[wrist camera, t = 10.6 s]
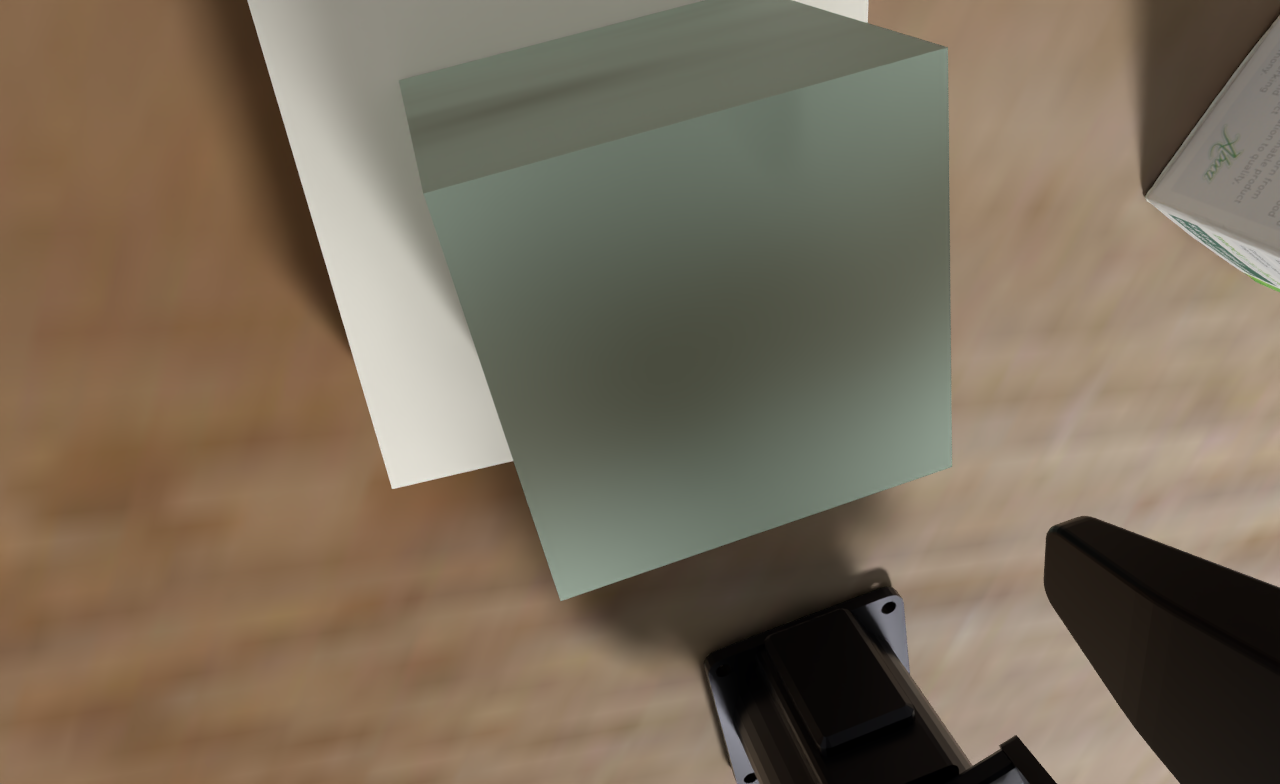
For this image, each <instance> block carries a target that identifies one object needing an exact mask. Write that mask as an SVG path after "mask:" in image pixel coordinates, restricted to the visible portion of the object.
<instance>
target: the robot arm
mask: <svg viewBox="0 0 1280 784" xmlns="http://www.w3.org/2000/svg"><path fill="white" fill-rule="evenodd" d="M1044 587H1045V591H1046V594H1047V597H1048V599H1049V601H1050V603H1051V605H1052V606H1053V608H1054V609H1055V611H1056V612H1057V614H1058V615H1059V617H1060V618H1061V620H1062V621H1063V623H1064V624H1065V626H1066V627H1067V629H1068V630H1069V632H1070V633H1071V635H1072V636H1073V638H1074V639H1075V641H1076V642H1077V644H1078V645H1079V647H1080V648H1081V650H1082V651H1083V653H1084V654H1085V656H1086V657H1087V659H1088V660H1089V661H1090V663H1091V664H1092V666H1093V667H1094V669H1095V670H1096V672H1097V673H1098V675H1099V676H1100V678H1101V679H1102V681H1103V682H1104V684H1105V685H1106V687H1107V688H1108V690H1109V691H1110V693H1111V694H1112V696H1113V697H1114V699H1115V700H1116V702H1117V703H1118V705H1119V706H1120V708H1121V709H1122V710H1123V712H1124V713H1125V715H1126V716H1127V717H1128V719H1129V720H1130V722H1131V723H1132V725H1133V726H1134V727H1135V729H1136V730H1137V731H1138V732H1139V734H1140V735H1141V736H1142V737H1143V739H1144V740H1145V741H1146V743H1147V744H1148V745H1149V746H1150V748H1151V749H1152V750H1153V751H1154V752H1155V754H1156V755H1157V756H1158V757H1159V758H1160V760H1161V761H1162V762H1163V763H1164V765H1165V766H1166V767H1167V768H1168V769H1169V771H1170V772H1171V773H1172V774H1173V775H1174V777H1175V778H1176V779H1177V780H1178V781H1179V783H1180V784H1280V587H1277V586H1274V585H1272V584H1269V583H1266V582H1264V581H1261V580H1258V579H1256V578H1253V577H1250V576H1248V575H1245V574H1242V573H1240V572H1237V571H1234V570H1232V569H1229V568H1227V567H1224V566H1221V565H1219V564H1216V563H1213V562H1211V561H1208V560H1205V559H1203V558H1200V557H1197V556H1195V555H1192V554H1189V553H1187V552H1184V551H1181V550H1179V549H1176V548H1173V547H1171V546H1168V545H1165V544H1163V543H1160V542H1158V541H1155V540H1152V539H1150V538H1147V537H1144V536H1142V535H1139V534H1136V533H1134V532H1131V531H1128V530H1126V529H1123V528H1120V527H1118V526H1115V525H1112V524H1110V523H1107V522H1104V521H1102V520H1099V519H1096V518H1093V517H1089V516H1080V517H1076V518H1074V519H1071V520H1068V521H1065V522H1062V523H1060V524H1057V525H1054V526H1053V527H1051V528H1050V529H1049V531H1048V533H1047V536H1046V548H1045V566H1044ZM722 665H723V666H722ZM720 666H721V667H720ZM704 669H705V673H706V676H707V680H708V684H709V687H710V691H711V695H712V698H713V702H714V706H715V709H716V713H717V717H718V720H719V724H720V728H721V731H722V735H723V739H724V742H725V746H726V750H727V753H728V757H729V761H730V764H731V768H732V772H733V775H734V777H735V780H736V782H737V784H1057V783H1056V782H1055V781H1054V780H1053V779H1052V777H1051V776H1050V775H1049V774H1048V773H1047V771H1046V770H1045V769H1044V768H1043V767H1042V765H1041V764H1040V763H1039V762H1038V761H1037V759H1036V758H1035V757H1034V756H1033V755H1032V753H1031V752H1030V751H1029V750H1028V749H1027V747H1026V746H1025V745H1024V744H1023V743H1022V741H1021V740H1020V739H1019V738H1018V737H1017V735H1015V736H1014V737H1012V738H1010V739H1009V740H1007V741H1005V742H1004V743H1002V744H1001V745H999V746H1000V748H1001V749H1000V750H998V751H996V752H995V753H993V754H991V755H990V756H988V757H987V758H985V759H983V760H982V761H980V762H978V763H977V764H975V765H974V766H973V765H972V764H971V763H970V761H969V760H968V758H967V757H966V755H965V754H964V752H963V751H962V750H961V748H960V747H959V745H958V744H957V742H956V741H955V739H954V738H953V736H952V735H951V734H950V732H949V731H948V729H947V728H946V726H945V725H944V723H943V722H942V721H941V719H940V718H939V716H938V715H937V713H936V712H935V710H934V709H933V708H932V706H931V705H930V703H929V702H928V700H927V699H926V697H925V696H924V694H923V693H922V692H921V690H920V689H919V687H918V686H917V684H916V683H915V681H914V680H913V679H912V677H911V676H910V670H909V658H908V647H907V636H906V625H905V614H904V602H903V600H902V598H901V596H900V595H899V594H898V592H897V591H896V590H895V589H894V588H892V587H884V588H880V589H877V590H875V591H872V592H870V593H867V594H864V595H862V596H859V597H856V598H854V599H851V600H848V601H846V602H843V603H841V604H838V605H835V606H833V607H830V608H827V609H825V610H822V611H819V612H817V613H814V614H811V615H809V616H806V617H804V618H801V619H798V620H796V621H793V622H790V623H788V624H785V625H782V626H780V627H777V628H774V629H772V630H769V631H767V632H764V633H761V634H759V635H756V636H753V637H751V638H748V639H745V640H743V641H740V642H737V643H735V644H732V645H730V646H727V647H724V648H722V649H719V650H716V651H715V652H713V653H711V654H710V655H709V656H708V657H707V658H706V660H705V662H704Z"/></svg>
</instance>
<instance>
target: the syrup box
mask: <svg viewBox="0 0 1280 784" xmlns="http://www.w3.org/2000/svg"><path fill="white" fill-rule="evenodd" d="M1145 198H1146V200H1147V201H1148V202H1149V203H1151V204H1152V205H1154V206H1155V207H1156V208H1157V209H1158V210H1159V211H1160V212H1162V213H1163V214H1164V215H1165V216H1166V217H1168V218H1169V219H1170V220H1172V221H1173V222H1174V223H1175V224H1177V225H1178V226H1179V227H1180V228H1182V229H1183V230H1184V231H1185V232H1187V233H1188V234H1189V235H1190V236H1192V237H1193V238H1194V239H1196V240H1197V241H1199V242H1200V243H1202V244H1203V245H1204V246H1206V247H1207V248H1209V249H1210V250H1211V251H1213V252H1214V253H1215V254H1217V255H1218V256H1220V257H1221V258H1223V259H1224V260H1226V261H1227V262H1228V263H1230V264H1231V265H1233V266H1234V267H1236V268H1237V269H1238V270H1240V271H1242V272H1243V273H1245V274H1246V275H1248V276H1249V277H1251V278H1252V279H1253V280H1254V281H1256V282H1257V283H1260V284H1262V285H1264V286H1267V287H1269V288H1271V289H1274V290H1276V291H1278V292H1280V15H1279V16H1278V18H1277V19H1276V20H1275V21H1274V23H1273V24H1272V25H1271V27H1270V28H1269V29H1268V31H1267V32H1266V33H1265V34H1264V35H1263V36H1262V38H1261V39H1260V40H1259V42H1258V43H1257V44H1256V45H1255V47H1254V48H1253V49H1252V50H1251V52H1250V53H1249V54H1248V55H1247V57H1246V58H1245V59H1244V61H1243V62H1242V63H1241V65H1240V66H1239V67H1238V69H1237V70H1236V71H1235V73H1234V74H1233V75H1232V77H1231V78H1230V79H1229V81H1228V82H1227V84H1226V85H1225V86H1224V88H1223V89H1222V90H1221V92H1220V93H1219V94H1218V96H1217V97H1216V98H1215V99H1214V101H1213V102H1212V104H1211V105H1210V107H1209V108H1208V109H1207V111H1206V112H1205V114H1204V115H1203V116H1202V118H1201V119H1200V120H1199V122H1198V123H1197V125H1196V126H1195V127H1194V129H1193V130H1192V131H1191V133H1190V134H1189V136H1188V137H1187V138H1186V140H1185V141H1184V143H1183V144H1182V145H1181V147H1180V148H1179V150H1178V151H1177V152H1176V154H1175V155H1174V157H1173V158H1172V159H1171V161H1170V162H1169V163H1168V165H1167V166H1166V167H1165V169H1164V170H1163V172H1162V173H1161V175H1160V176H1159V177H1158V179H1157V180H1156V182H1155V183H1154V185H1153V187H1152V188H1151V189H1150V190H1149V191H1148V193H1147V194H1146V197H1145Z"/></svg>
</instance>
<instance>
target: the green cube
mask: <svg viewBox="0 0 1280 784" xmlns="http://www.w3.org/2000/svg"><path fill="white" fill-rule="evenodd" d="M399 84H400V89H401V93H402V98H403V102H404V107H405V112H406V116H407V121H408V125H409V130H410V135H411V139H412V144H413V148H414V153H415V157H416V162H417V167H418V171H419V176H420V180H421V185H422V190H423V194H424V197H425V200H426V203H427V206H428V209H429V212H430V215H431V218H432V221H433V224H434V227H435V230H436V233H437V236H438V239H439V241H440V244H441V247H442V250H443V253H444V256H445V259H446V262H447V265H448V268H449V271H450V274H451V277H452V280H453V283H454V286H455V289H456V292H457V295H458V298H459V301H460V304H461V307H462V310H463V313H464V316H465V319H466V322H467V325H468V328H469V331H470V334H471V337H472V339H473V342H474V345H475V348H476V351H477V354H478V357H479V360H480V363H481V366H482V369H483V372H484V375H485V378H486V381H487V384H488V387H489V390H490V393H491V396H492V399H493V402H494V405H495V408H496V411H497V414H498V417H499V420H500V423H501V426H502V429H503V432H504V434H505V437H506V440H507V443H508V446H509V449H510V452H511V455H512V458H513V461H514V464H515V467H516V470H517V473H518V476H519V479H520V482H521V485H522V488H523V491H524V494H525V497H526V500H527V503H528V506H529V509H530V512H531V515H532V518H533V521H534V524H535V527H536V530H537V532H538V535H539V538H540V541H541V544H542V547H543V550H544V553H545V556H546V559H547V562H548V565H549V568H550V571H551V574H552V577H553V580H554V583H555V586H556V589H557V592H558V595H559V598H560V601H563V600H566V599H569V598H571V597H574V596H577V595H580V594H583V593H586V592H589V591H592V590H595V589H598V588H601V587H603V586H606V585H609V584H612V583H615V582H618V581H621V580H624V579H627V578H630V577H633V576H635V575H638V574H641V573H644V572H647V571H650V570H653V569H656V568H659V567H662V566H665V565H668V564H670V563H673V562H676V561H679V560H682V559H685V558H688V557H691V556H694V555H697V554H700V553H702V552H705V551H708V550H711V549H714V548H717V547H720V546H723V545H726V544H729V543H732V542H735V541H737V540H740V539H743V538H746V537H749V536H752V535H755V534H758V533H761V532H764V531H767V530H769V529H772V528H775V527H778V526H781V525H784V524H787V523H790V522H793V521H796V520H799V519H802V518H804V517H807V516H810V515H813V514H816V513H819V512H822V511H825V510H828V509H831V508H834V507H836V506H839V505H842V504H845V503H848V502H851V501H854V500H857V499H860V498H863V497H866V496H869V495H871V494H874V493H877V492H880V491H883V490H886V489H889V488H892V487H895V486H898V485H901V484H903V483H906V482H909V481H912V480H915V479H918V478H921V477H924V476H927V475H930V474H933V473H936V472H938V471H941V470H944V469H947V468H950V467H952V422H951V320H950V219H949V118H948V47H945V46H942V45H938V44H935V43H932V42H928V41H925V40H922V39H919V38H915V37H912V36H909V35H905V34H902V33H899V32H895V31H892V30H889V29H885V28H882V27H879V26H875V25H872V24H869V23H865V22H862V21H859V20H856V19H852V18H849V17H846V16H842V15H839V14H836V13H832V12H829V11H826V10H822V9H819V8H816V7H812V6H809V5H806V4H803V3H799V2H796V1H793V0H704V1H700V2H696V3H692V4H688V5H685V6H681V7H677V8H673V9H669V10H666V11H662V12H658V13H654V14H650V15H647V16H643V17H639V18H635V19H631V20H627V21H624V22H620V23H616V24H612V25H608V26H605V27H601V28H597V29H593V30H589V31H585V32H582V33H578V34H574V35H570V36H566V37H563V38H559V39H555V40H551V41H547V42H543V43H540V44H536V45H532V46H528V47H524V48H521V49H517V50H513V51H509V52H505V53H502V54H498V55H494V56H490V57H486V58H482V59H479V60H475V61H471V62H467V63H463V64H460V65H456V66H452V67H448V68H444V69H440V70H437V71H433V72H429V73H425V74H421V75H418V76H414V77H410V78H406V79H402V80H399Z"/></svg>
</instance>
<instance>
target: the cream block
mask: <svg viewBox="0 0 1280 784" xmlns="http://www.w3.org/2000/svg"><path fill="white" fill-rule="evenodd" d="M247 1H248V4H249V8H250V11H251V14H252V18H253V21H254V24H255V28H256V31H257V35H258V38H259V41H260V45H261V48H262V51H263V55H264V58H265V62H266V65H267V68H268V72H269V75H270V78H271V82H272V85H273V88H274V92H275V95H276V99H277V102H278V105H279V109H280V112H281V115H282V119H283V122H284V126H285V129H286V132H287V136H288V139H289V142H290V146H291V149H292V153H293V156H294V159H295V163H296V166H297V169H298V173H299V176H300V179H301V183H302V186H303V190H304V193H305V196H306V200H307V203H308V206H309V210H310V213H311V217H312V220H313V223H314V227H315V230H316V233H317V237H318V240H319V244H320V247H321V250H322V254H323V257H324V260H325V264H326V267H327V270H328V274H329V277H330V281H331V284H332V287H333V291H334V294H335V297H336V301H337V304H338V308H339V311H340V314H341V318H342V321H343V324H344V328H345V331H346V335H347V338H348V341H349V345H350V348H351V351H352V355H353V358H354V361H355V365H356V368H357V372H358V375H359V378H360V382H361V385H362V388H363V392H364V395H365V399H366V402H367V405H368V409H369V412H370V415H371V419H372V422H373V426H374V429H375V432H376V436H377V439H378V442H379V446H380V449H381V452H382V456H383V459H384V463H385V466H386V469H387V473H388V476H389V479H390V483H391V486H392V489H394V488H399V487H403V486H407V485H412V484H416V483H420V482H425V481H429V480H433V479H438V478H442V477H446V476H451V475H455V474H459V473H464V472H468V471H472V470H476V469H481V468H485V467H489V466H494V465H498V464H502V463H507V462H511V461H513V458H512V455H511V452H510V449H509V446H508V443H507V440H506V437H505V434H504V432H503V429H502V426H501V423H500V420H499V417H498V414H497V411H496V408H495V405H494V402H493V399H492V396H491V393H490V390H489V387H488V384H487V381H486V378H485V375H484V372H483V369H482V366H481V363H480V360H479V357H478V354H477V351H476V348H475V345H474V342H473V339H472V337H471V334H470V331H469V328H468V325H467V322H466V319H465V316H464V313H463V310H462V307H461V304H460V301H459V298H458V295H457V292H456V289H455V286H454V283H453V280H452V277H451V274H450V271H449V268H448V265H447V262H446V259H445V256H444V253H443V250H442V247H441V244H440V241H439V239H438V236H437V233H436V230H435V227H434V224H433V221H432V218H431V215H430V212H429V209H428V206H427V203H426V200H425V197H424V194H423V190H422V185H421V180H420V176H419V171H418V167H417V162H416V157H415V153H414V148H413V144H412V139H411V135H410V130H409V125H408V121H407V116H406V112H405V107H404V102H403V98H402V93H401V89H400V84H399V80H402V79H406V78H410V77H414V76H418V75H421V74H425V73H429V72H433V71H437V70H440V69H444V68H448V67H452V66H456V65H460V64H463V63H467V62H471V61H475V60H479V59H482V58H486V57H490V56H494V55H498V54H502V53H505V52H509V51H513V50H517V49H521V48H524V47H528V46H532V45H536V44H540V43H543V42H547V41H551V40H555V39H559V38H563V37H566V36H570V35H574V34H578V33H582V32H585V31H589V30H593V29H597V28H601V27H605V26H608V25H612V24H616V23H620V22H624V21H627V20H631V19H635V18H639V17H643V16H647V15H650V14H654V13H658V12H662V11H666V10H669V9H673V8H677V7H681V6H685V5H688V4H692V3H696V2H700V1H704V0H247ZM793 1H796V2H799V3H803V4H806V5H809V6H812V7H816V8H819V9H822V10H826V11H829V12H832V13H836V14H839V15H842V16H846V17H849V18H852V19H856V20H859V21H862V22H865V23H868V0H793Z"/></svg>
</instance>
